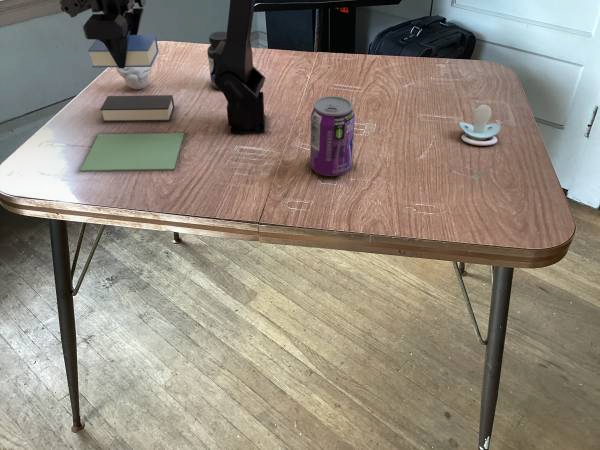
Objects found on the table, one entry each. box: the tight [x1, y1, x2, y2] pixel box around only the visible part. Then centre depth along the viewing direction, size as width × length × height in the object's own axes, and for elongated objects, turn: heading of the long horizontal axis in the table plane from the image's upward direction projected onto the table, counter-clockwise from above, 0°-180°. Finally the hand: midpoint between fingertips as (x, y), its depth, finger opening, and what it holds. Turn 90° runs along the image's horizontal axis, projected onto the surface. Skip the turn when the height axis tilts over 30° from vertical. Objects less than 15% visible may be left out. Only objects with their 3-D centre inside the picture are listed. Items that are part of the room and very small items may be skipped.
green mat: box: [80, 132, 185, 172], centre depth 98 cm, size 16×12×1 cm
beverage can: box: [309, 95, 356, 177], centre depth 90 cm, size 7×7×12 cm
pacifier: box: [459, 104, 501, 146], centre depth 99 cm, size 7×6×6 cm
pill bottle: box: [206, 30, 227, 91], centre depth 115 cm, size 6×6×11 cm
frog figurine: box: [115, 67, 151, 90], centre depth 116 cm, size 6×7×7 cm
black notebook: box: [99, 94, 175, 123], centre depth 108 cm, size 13×6×3 cm, turn 91°
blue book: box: [87, 34, 160, 69], centre depth 99 cm, size 10×7×3 cm, turn 91°
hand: (126, 59), depth 100 cm, fingers closed on blue book, 7 cm apart
